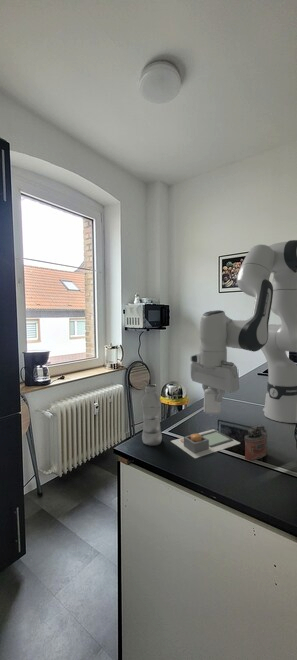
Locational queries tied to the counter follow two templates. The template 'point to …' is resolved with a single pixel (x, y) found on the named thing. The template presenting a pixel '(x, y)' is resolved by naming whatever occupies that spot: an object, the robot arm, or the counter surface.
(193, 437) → the button
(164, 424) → the counter surface
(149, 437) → the plastic bottle
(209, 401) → the eye dropper bottle
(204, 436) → the white rectangular tray
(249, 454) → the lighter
